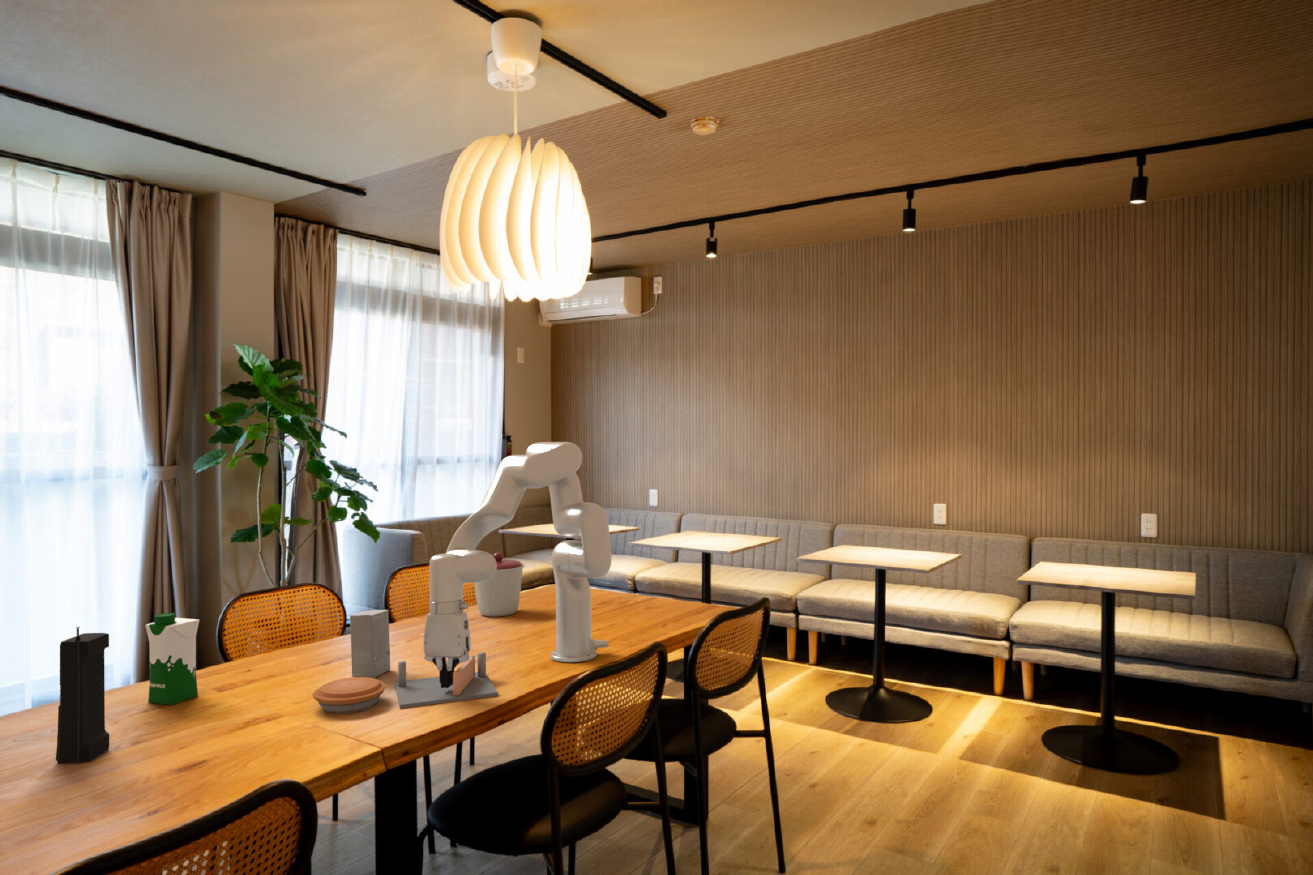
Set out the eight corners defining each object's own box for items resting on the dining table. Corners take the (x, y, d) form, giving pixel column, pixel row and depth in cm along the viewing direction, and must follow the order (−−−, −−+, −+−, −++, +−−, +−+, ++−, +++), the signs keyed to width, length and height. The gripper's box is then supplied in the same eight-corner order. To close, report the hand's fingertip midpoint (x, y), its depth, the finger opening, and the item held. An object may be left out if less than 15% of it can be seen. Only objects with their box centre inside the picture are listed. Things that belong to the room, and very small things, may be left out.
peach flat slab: (469, 675, 193) (469, 653, 193) (475, 674, 193) (475, 653, 193) (452, 695, 178) (452, 672, 178) (458, 695, 178) (458, 672, 178)
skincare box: (374, 679, 195) (373, 615, 195) (348, 677, 196) (347, 614, 197) (392, 669, 203) (391, 608, 203) (367, 668, 205) (366, 607, 205)
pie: (315, 721, 165) (315, 698, 165) (310, 701, 179) (310, 679, 179) (391, 709, 172) (391, 687, 172) (380, 690, 186) (380, 669, 186)
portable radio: (80, 748, 152) (80, 619, 152) (113, 746, 152) (112, 618, 153) (53, 764, 144) (52, 628, 144) (87, 763, 144) (87, 627, 145)
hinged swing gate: (484, 674, 198) (484, 648, 198) (497, 695, 181) (497, 667, 181) (395, 684, 190) (394, 658, 190) (399, 708, 173) (399, 678, 173)
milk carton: (141, 703, 178) (140, 615, 179) (177, 691, 187) (176, 607, 187) (170, 707, 176) (169, 618, 176) (205, 694, 184) (204, 609, 184)
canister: (463, 618, 262) (462, 555, 262) (483, 607, 280) (483, 548, 280) (514, 620, 259) (513, 556, 259) (532, 608, 277) (531, 549, 277)
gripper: (483, 604, 185) (483, 682, 185) (424, 603, 187) (424, 680, 187) (470, 611, 177) (470, 692, 177) (408, 609, 180) (409, 689, 180)
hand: (447, 686), depth 182 cm, fingers closed
